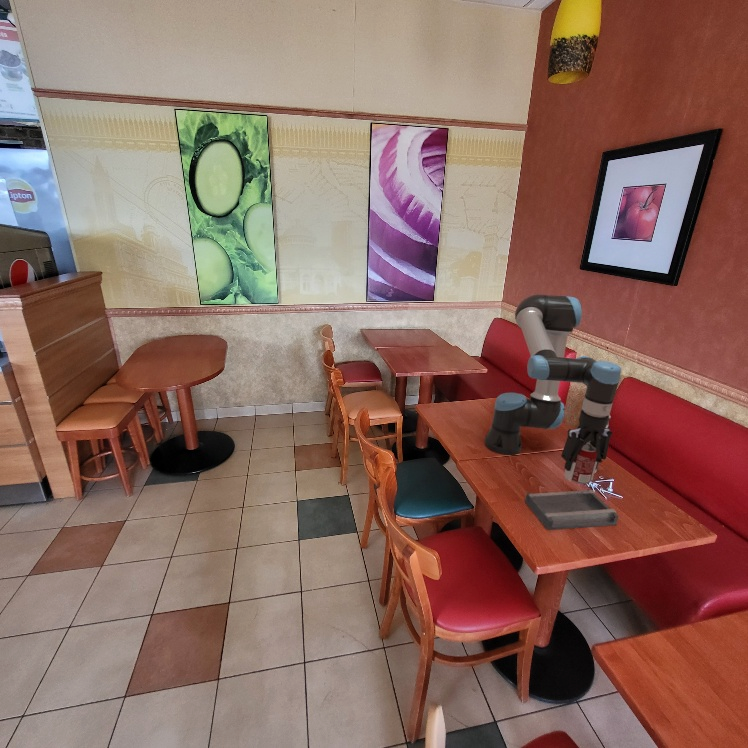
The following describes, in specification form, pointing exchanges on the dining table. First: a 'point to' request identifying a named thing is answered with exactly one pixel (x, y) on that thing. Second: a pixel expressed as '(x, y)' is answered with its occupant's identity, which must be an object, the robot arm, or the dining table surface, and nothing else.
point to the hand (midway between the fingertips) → (578, 478)
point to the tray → (571, 509)
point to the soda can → (584, 464)
